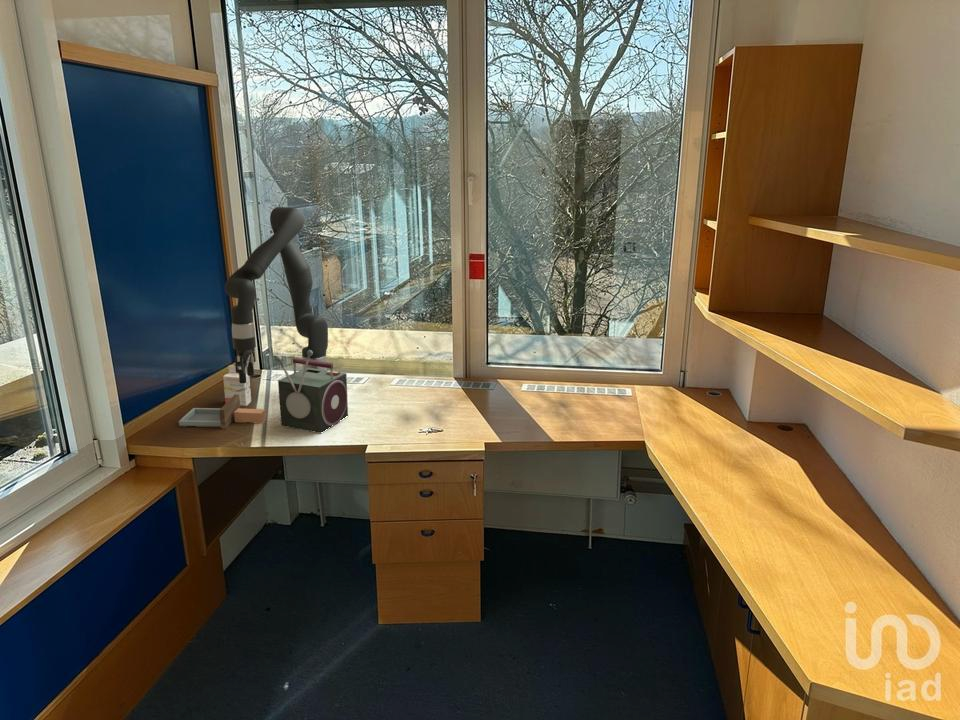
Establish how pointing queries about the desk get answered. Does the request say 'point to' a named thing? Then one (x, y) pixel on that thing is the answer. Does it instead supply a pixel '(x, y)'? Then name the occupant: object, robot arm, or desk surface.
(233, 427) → the desk surface
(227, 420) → the board
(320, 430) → the boombox
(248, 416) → the bar
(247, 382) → the ink cartridge box
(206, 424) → the tray
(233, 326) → the robot arm
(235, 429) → the desk surface
